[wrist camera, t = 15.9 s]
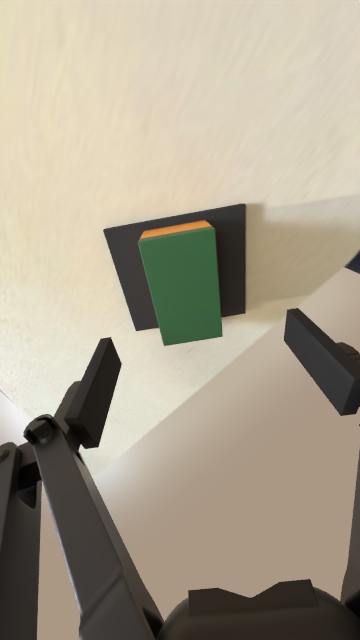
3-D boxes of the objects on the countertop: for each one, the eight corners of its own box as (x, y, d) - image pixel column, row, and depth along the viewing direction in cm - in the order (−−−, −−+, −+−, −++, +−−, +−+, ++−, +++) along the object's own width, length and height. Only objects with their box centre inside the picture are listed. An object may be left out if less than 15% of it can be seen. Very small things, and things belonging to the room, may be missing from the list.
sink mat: (243, 203, 24) (245, 203, 23) (243, 310, 31) (245, 313, 31) (104, 228, 25) (102, 229, 24) (136, 328, 32) (135, 331, 31)
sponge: (143, 231, 24) (137, 242, 19) (205, 219, 24) (215, 228, 19) (164, 320, 31) (163, 346, 25) (213, 311, 30) (222, 336, 25)
